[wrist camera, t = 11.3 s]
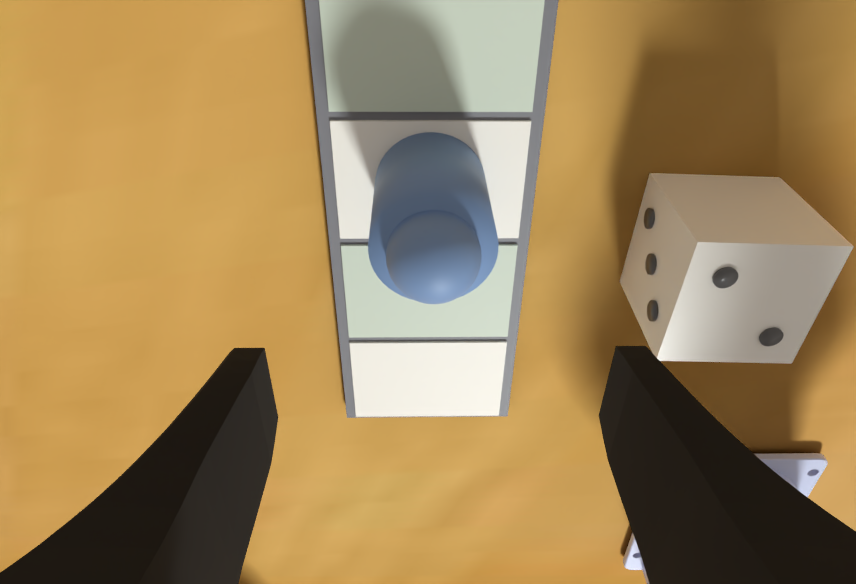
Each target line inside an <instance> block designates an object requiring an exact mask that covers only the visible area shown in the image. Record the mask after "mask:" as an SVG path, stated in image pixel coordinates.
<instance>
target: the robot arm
mask: <svg viewBox="0 0 856 584" xmlns="http://www.w3.org/2000/svg"><path fill="white" fill-rule="evenodd" d="M599 418H600V423H601V429H602V434H603V439H604V444H605V448H606V453H607V457H608V461H609V464H610V467H611V470H612V473H613V476H614V479H615V482H616V485H617V488H618V491H619V494H620V497H621V500H622V503H623V506H624V509H625V511H626V514H627V517H628V520H629V523H630V526H631V529H632V532H633V533H632V536H631V538H630V541H629V544H628V547H627V550H626V553H625V555H624V558H623V563H624V567H625V568H627V569H629V570H643V573H644V576H645V579H646V583H647V584H856V531H854V530H853V529H851V528H850V527H848V526H847V525H845V524H844V523H842V522H841V521H840V520H838V519H837V518H835V517H834V516H832V515H831V514H829V513H828V512H827V511H825V510H824V509H822V508H821V507H820V506H818V505H817V504H816V503H814V502H813V501H811V500H810V499H809V498H807V497H808V495H809V494H810V492H811V491H812V489H813V487H814V486H815V484H816V482H817V481H818V479H819V477H820V476H821V474H822V472H823V471H824V469H825V468H826V466H827V463H828V462H827V460H826V458H825V457H824V455H822V454H819V453H771V454H753V453H752V452H751V451H750V450H749V449H748V448H747V447H745V446H744V445H743V444H742V443H741V442H740V441H739V440H738V439H737V438H735V437H734V436H733V435H732V434H731V433H730V432H729V431H728V430H727V429H726V428H725V427H724V426H723V425H722V424H721V423H720V422H718V421H717V420H716V419H715V418H714V417H713V416H712V415H711V414H710V413H709V412H708V411H707V410H706V409H705V408H704V407H703V406H702V405H701V404H700V403H699V402H698V401H697V400H696V399H695V398H694V397H693V396H692V395H691V394H690V392H689V391H688V390H687V389H686V388H685V387H684V386H683V385H682V384H681V383H680V382H679V381H678V380H677V379H676V378H675V377H674V376H673V375H672V374H671V372H670V371H669V370H668V369H667V368H666V367H665V366H664V365H663V364H662V363H661V362H660V361H659V360H658V359H657V358H656V357H655V355H654V354H653V353H652V352H651V351H650V350H649V349H648V348H647V347H646V346H616V348H615V352H614V356H613V360H612V364H611V368H610V372H609V376H608V380H607V384H606V388H605V393H604V397H603V401H602V405H601V409H600V413H599ZM277 421H278V414H277V409H276V404H275V399H274V394H273V389H272V384H271V379H270V374H269V369H268V363H267V358H266V353H265V348H234V349H233V350H232V351H231V352H230V353H229V354H228V355H227V357H226V358H225V359H224V361H223V362H222V363H221V364H220V366H219V367H218V368H217V369H216V371H215V372H214V373H213V374H212V376H211V377H210V378H209V379H208V381H207V382H206V383H205V384H204V386H203V387H202V388H201V389H200V390H199V392H198V393H197V394H196V395H195V397H194V398H193V399H192V400H191V401H190V402H189V404H188V405H187V406H186V407H185V408H184V409H183V411H182V412H181V413H180V414H179V415H178V416H177V417H176V419H175V420H174V421H173V422H172V423H171V424H170V426H169V427H168V428H167V429H166V430H165V431H164V432H163V433H162V434H161V435H160V436H159V437H158V438H157V439H156V441H155V442H154V443H153V444H152V445H151V446H150V447H149V448H148V449H147V450H146V451H145V452H144V453H143V454H142V455H141V456H140V457H139V458H138V459H137V460H136V461H135V462H134V463H133V464H132V465H131V466H130V467H129V468H128V469H127V470H126V471H125V472H124V473H123V474H122V475H121V476H120V477H119V478H118V479H117V480H116V481H115V482H114V483H113V484H111V485H110V486H109V487H108V488H107V489H106V490H105V491H104V492H103V493H102V494H100V495H99V496H98V497H97V498H96V499H95V500H94V501H93V502H91V503H90V504H89V505H88V506H87V507H85V508H84V509H83V510H82V511H81V512H79V513H78V514H77V515H76V516H75V517H73V518H72V519H71V520H70V521H69V522H67V523H66V524H65V525H64V526H62V527H61V528H60V529H59V530H57V531H56V532H55V533H53V534H52V535H51V536H50V537H48V538H47V539H46V540H45V541H43V542H42V543H41V544H40V545H38V546H37V547H36V548H34V549H33V550H31V551H30V552H29V553H27V554H26V555H25V556H23V557H22V558H20V559H19V560H18V561H16V562H15V563H13V564H12V565H11V566H9V567H8V568H6V569H5V570H4V571H2V572H1V573H0V584H238V583H239V579H240V574H241V570H242V566H243V562H244V559H245V555H246V552H247V548H248V544H249V541H250V537H251V534H252V530H253V527H254V523H255V520H256V516H257V513H258V509H259V506H260V502H261V498H262V495H263V491H264V488H265V484H266V480H267V477H268V473H269V469H270V466H271V461H272V455H273V449H274V443H275V436H276V428H277Z"/></svg>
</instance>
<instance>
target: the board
mask: <svg viewBox="0 0 856 584" xmlns="http://www.w3.org/2000/svg"><path fill="white" fill-rule="evenodd" d="M305 6H306V16H307V26H308V36H309V46H310V56H311V66H312V75H313V85H314V95H315V105H316V115H317V125H318V135H319V145H320V155H321V164H322V174H323V184H324V194H325V204H326V214H327V224H328V234H329V244H330V254H331V263H332V273H333V283H334V293H335V303H336V313H337V323H338V333H339V343H340V352H341V362H342V372H343V382H344V392H345V402H346V412H347V418H354V417H479V416H508V408H509V400H510V392H511V384H512V375H513V367H514V359H515V351H516V343H517V335H518V326H519V318H520V310H521V302H522V294H523V286H524V277H525V269H526V261H527V253H528V245H529V237H530V228H531V220H532V212H533V204H534V196H535V188H536V179H537V171H538V163H539V155H540V147H541V138H542V130H543V122H544V114H545V106H546V98H547V89H548V81H549V73H550V65H551V57H552V49H553V40H554V32H555V24H556V16H557V8H558V0H305ZM425 132H436V133H443V134H447V135H450V136H453V137H455V138H457V139H459V140H461V141H462V142H464V143H465V144H467V145H468V146H469V147H470V148H471V149H472V150H473V151H474V152H475V153H476V155H477V156H478V158H479V160H480V162H481V164H482V167H483V170H484V174H485V179H486V183H487V188H488V193H489V198H490V203H491V207H492V212H493V217H494V222H495V226H496V231H497V236H498V243H499V247H498V256H497V260H496V263H495V265H494V267H493V269H492V271H491V273H490V274H489V276H488V277H487V278H486V279H485V281H484V282H483V283H482V284H481V285H479V286H478V287H477V288H476V289H474V290H473V291H471V292H470V293H468V294H466V295H464V296H461V297H459V298H456V299H454V300H452V301H450V302H447V303H442V304H425V303H421V302H418V301H415V300H412V299H408V298H406V297H403V296H401V295H399V294H397V293H395V292H394V291H392V290H391V289H389V288H388V287H387V286H386V285H385V284H383V283H382V281H381V280H380V279H379V278H378V277H377V275H376V273H375V272H374V270H373V268H372V266H371V263H370V259H369V254H368V241H369V232H370V223H371V214H372V204H373V195H374V186H375V177H376V172H377V169H378V166H379V163H380V161H381V159H382V158H383V156H384V155H385V153H386V152H387V151H388V150H389V149H390V148H391V147H392V146H393V145H395V144H396V143H397V142H399V141H400V140H402V139H404V138H406V137H408V136H411V135H414V134H418V133H425Z"/></svg>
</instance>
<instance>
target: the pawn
mask: <svg viewBox="0 0 856 584" xmlns="http://www.w3.org/2000/svg"><path fill="white" fill-rule="evenodd" d="M498 247H499V243H498V236H497V231H496V226H495V222H494V217H493V212H492V207H491V203H490V198H489V193H488V188H487V183H486V179H485V174H484V170H483V167H482V164H481V162H480V160H479V158H478V156H477V155H476V153H475V152H474V151H473V150H472V149H471V148H470V147H469V146H468V145H467V144H465V143H464V142H462V141H461V140H459V139H457V138H455V137H453V136H450V135H447V134H443V133H436V132H425V133H418V134H414V135H411V136H408V137H406V138H404V139H402V140H400V141H399V142H397V143H396V144H395V145H393V146H392V147H391V148H390V149H389V150H388V151H387V152H386V153H385V155H384V156H383V158H382V159H381V161H380V163H379V166H378V169H377V172H376V177H375V186H374V195H373V204H372V214H371V223H370V232H369V241H368V254H369V259H370V263H371V266H372V268H373V270H374V272H375V273H376V275H377V277H378V278H379V279H380V280H381V281H382V283H383V284H385V285H386V286H387V287H388V288H389V289H391V290H392V291H394V292H395V293H397V294H399V295H401V296H403V297H406V298H408V299H412V300H415V301H418V302H421V303H425V304H442V303H447V302H450V301H452V300H454V299H456V298H459V297H461V296H464V295H466V294H468V293H470V292H471V291H473V290H474V289H476V288H477V287H478V286H479V285H481V284H482V283H483V282H484V281H485V279H486V278H487V277H488V276H489V274H490V273H491V271H492V269H493V267H494V265H495V263H496V260H497V256H498Z"/></svg>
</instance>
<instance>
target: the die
mask: <svg viewBox="0 0 856 584" xmlns="http://www.w3.org/2000/svg"><path fill="white" fill-rule="evenodd" d="M853 247H854V246H853V245H852V244H851V243H850V242H849V241H847V240H846V239H845V238H844V237H843V236H842V235H841V234H840V233H839V232H838V231H837V230H836V229H835V228H834V227H832V226H831V225H830V224H829V223H828V222H827V221H826V220H825V219H824V218H823V217H822V216H821V215H820V214H819V213H818V212H816V211H815V210H814V209H813V208H812V207H811V206H810V205H809V204H808V203H807V202H806V201H805V200H804V199H803V198H802V197H800V196H799V195H798V194H797V193H796V192H795V191H794V190H793V189H792V188H791V187H790V186H789V185H788V184H787V183H785V182H784V181H783V180H782V179H781V178H780V177H758V176H728V175H697V174H666V173H650V174H649V177H648V181H647V185H646V188H645V192H644V195H643V199H642V203H641V206H640V210H639V213H638V217H637V221H636V224H635V228H634V231H633V235H632V239H631V242H630V246H629V249H628V253H627V257H626V260H625V264H624V267H623V271H622V275H621V278H620V284H621V286H622V288H623V290H624V292H625V295H626V297H627V299H628V301H629V303H630V305H631V308H632V310H633V312H634V314H635V316H636V318H637V321H638V323H639V325H640V327H641V329H642V332H643V334H644V336H645V338H646V340H647V342H648V345H649V347H650V349H651V351H652V353H653V354H654V355H655V357H656V358H657V359H658V360H659V361H692V362H740V363H788V364H792V362H793V360H794V358H795V357H796V355H797V353H798V351H799V349H800V347H801V345H802V343H803V341H804V340H805V338H806V336H807V334H808V332H809V330H810V328H811V326H812V324H813V323H814V321H815V319H816V317H817V315H818V313H819V311H820V309H821V307H822V306H823V304H824V302H825V300H826V298H827V296H828V294H829V292H830V290H831V289H832V287H833V285H834V283H835V281H836V279H837V277H838V275H839V274H840V272H841V270H842V268H843V266H844V264H845V262H846V260H847V258H848V257H849V255H850V253H851V251H852V249H853Z"/></svg>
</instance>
